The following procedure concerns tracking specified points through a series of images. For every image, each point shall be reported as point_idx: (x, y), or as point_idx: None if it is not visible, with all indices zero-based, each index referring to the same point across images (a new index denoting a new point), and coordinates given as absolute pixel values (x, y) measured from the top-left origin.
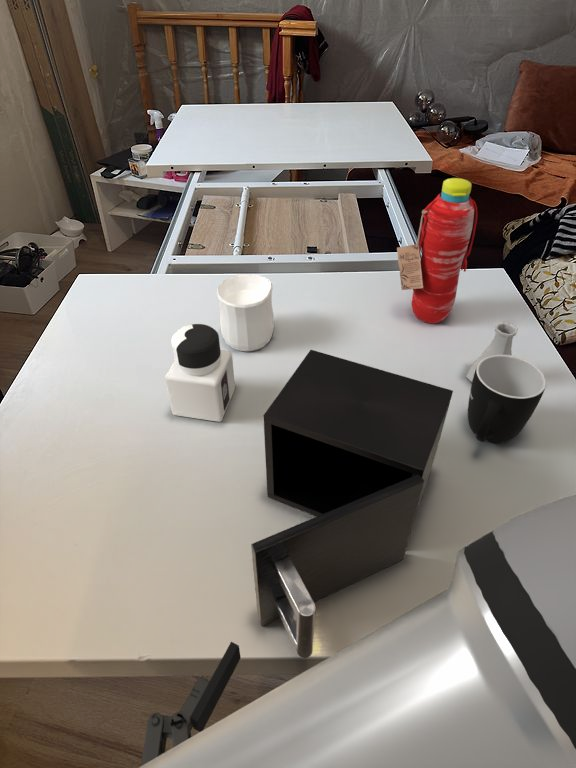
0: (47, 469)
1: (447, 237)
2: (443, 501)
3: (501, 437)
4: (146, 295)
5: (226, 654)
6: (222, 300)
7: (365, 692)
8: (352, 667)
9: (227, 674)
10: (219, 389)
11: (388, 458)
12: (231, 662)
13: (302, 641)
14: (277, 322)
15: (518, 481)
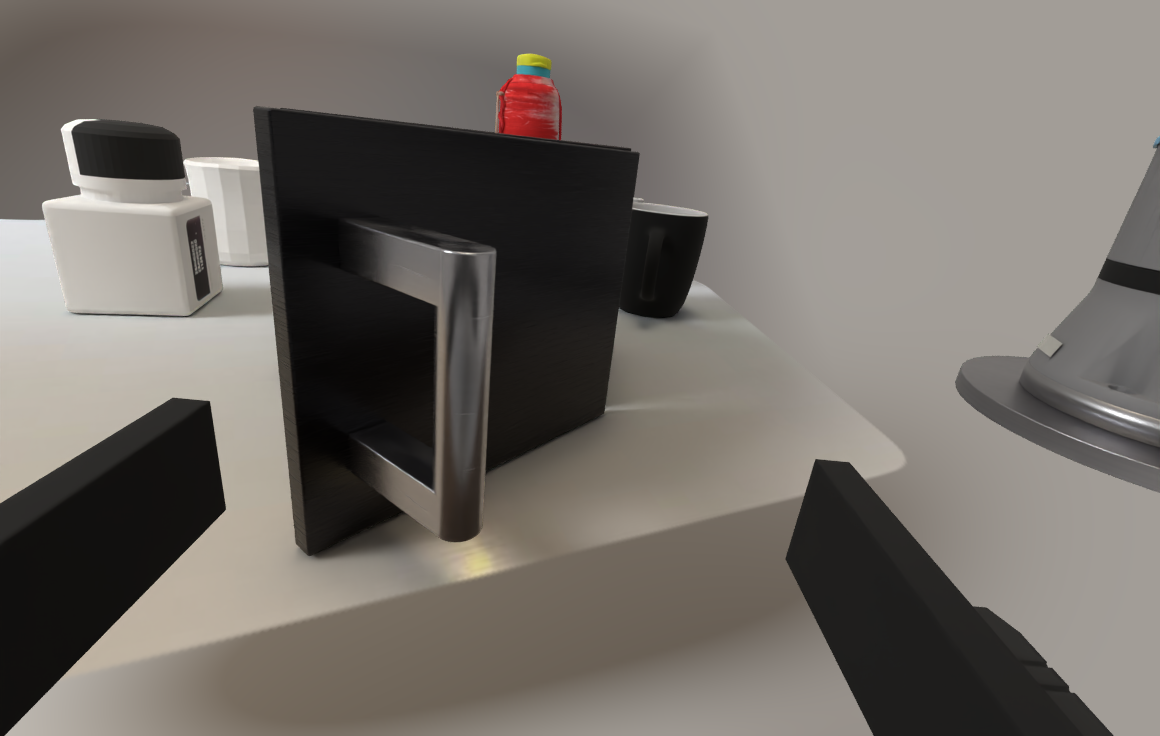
0: None
1: (533, 119)
2: (628, 360)
3: (668, 299)
4: (40, 229)
5: (142, 423)
6: (194, 164)
7: None
8: None
9: (147, 514)
10: (182, 233)
11: (561, 140)
12: (170, 455)
13: (458, 436)
14: None
15: (711, 340)
